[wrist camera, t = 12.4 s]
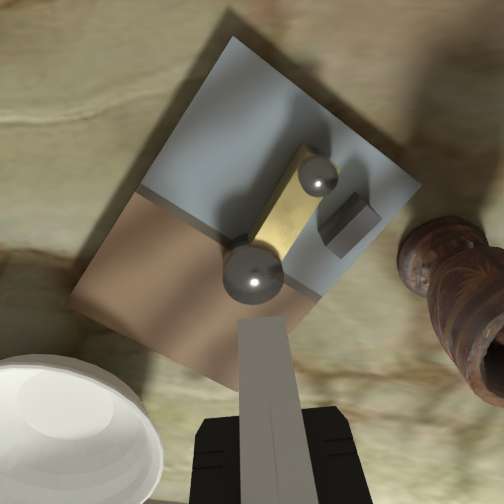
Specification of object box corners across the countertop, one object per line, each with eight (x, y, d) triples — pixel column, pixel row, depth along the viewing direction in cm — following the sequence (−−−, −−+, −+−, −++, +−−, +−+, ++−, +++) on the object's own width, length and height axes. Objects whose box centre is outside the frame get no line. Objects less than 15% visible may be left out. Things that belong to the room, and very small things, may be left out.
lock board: (414, 178, 34) (439, 198, 30) (236, 380, 42) (237, 417, 38) (232, 35, 29) (233, 35, 25) (70, 294, 37) (50, 327, 33)
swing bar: (261, 292, 36) (265, 317, 32) (213, 269, 34) (211, 293, 31) (344, 164, 31) (358, 179, 28) (292, 134, 30) (300, 145, 27)
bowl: (-87, 341, 38) (-143, 395, 33) (132, 293, 37) (115, 339, 32) (15, 487, 47) (-14, 549, 41) (196, 451, 46) (192, 510, 40)
